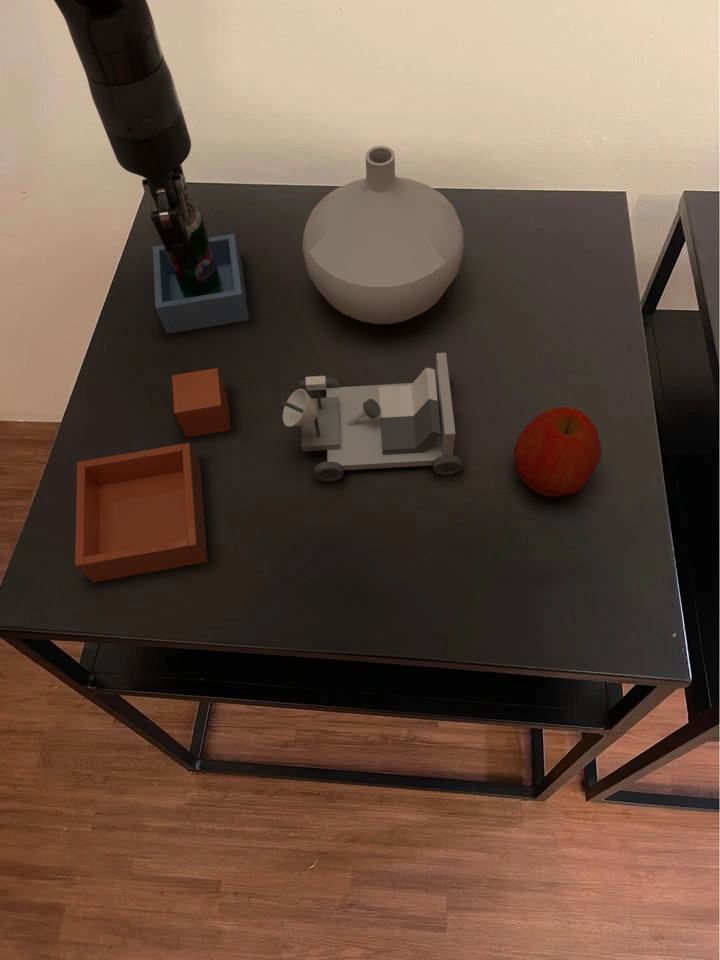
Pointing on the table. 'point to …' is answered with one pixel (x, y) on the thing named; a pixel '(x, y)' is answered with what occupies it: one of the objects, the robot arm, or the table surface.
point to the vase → (383, 244)
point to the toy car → (377, 423)
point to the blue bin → (203, 308)
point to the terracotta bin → (139, 513)
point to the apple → (558, 452)
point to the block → (201, 402)
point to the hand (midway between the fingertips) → (187, 246)
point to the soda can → (205, 272)
